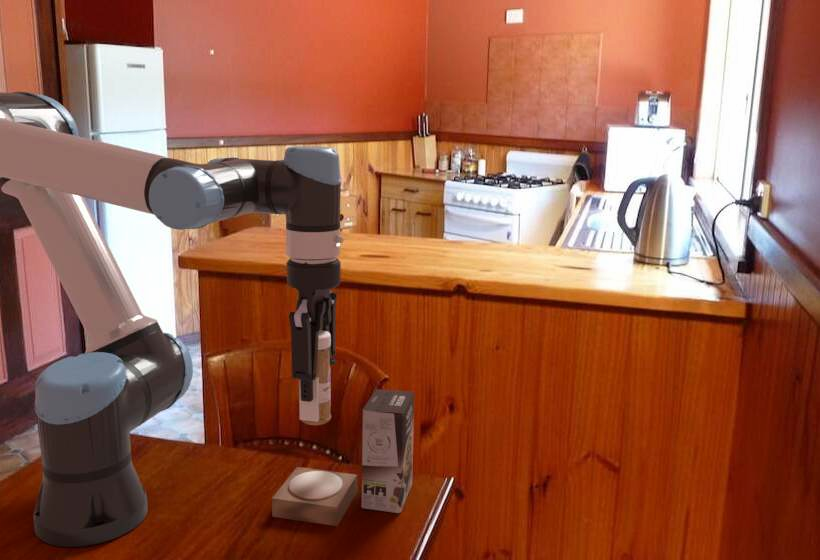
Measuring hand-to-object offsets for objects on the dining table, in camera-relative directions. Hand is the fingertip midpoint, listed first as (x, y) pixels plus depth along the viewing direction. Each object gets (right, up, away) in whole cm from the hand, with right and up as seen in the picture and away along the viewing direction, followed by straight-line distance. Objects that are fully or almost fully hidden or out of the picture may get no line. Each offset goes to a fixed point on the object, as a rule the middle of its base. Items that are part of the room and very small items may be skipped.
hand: (315, 412), depth 109 cm
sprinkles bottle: (0, -1, 0) cm, 1 cm away
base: (0, -15, +3) cm, 15 cm away
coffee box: (+11, -14, +6) cm, 19 cm away
